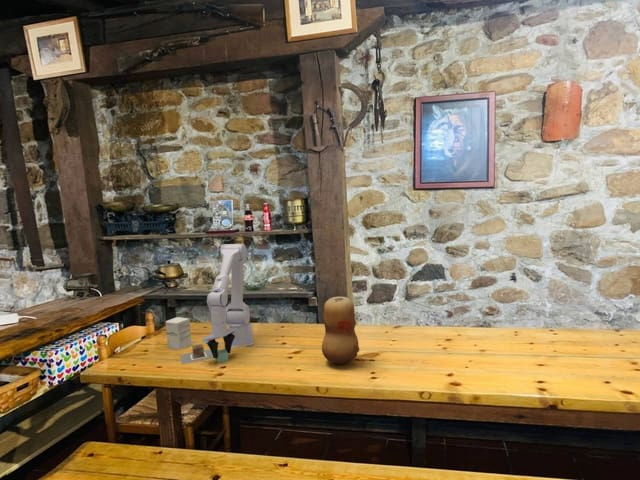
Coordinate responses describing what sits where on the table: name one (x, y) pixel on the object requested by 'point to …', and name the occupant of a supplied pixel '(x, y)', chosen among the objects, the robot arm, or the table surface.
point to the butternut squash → (339, 331)
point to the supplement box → (178, 333)
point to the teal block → (222, 355)
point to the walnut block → (198, 351)
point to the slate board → (189, 358)
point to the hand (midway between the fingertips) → (221, 355)
